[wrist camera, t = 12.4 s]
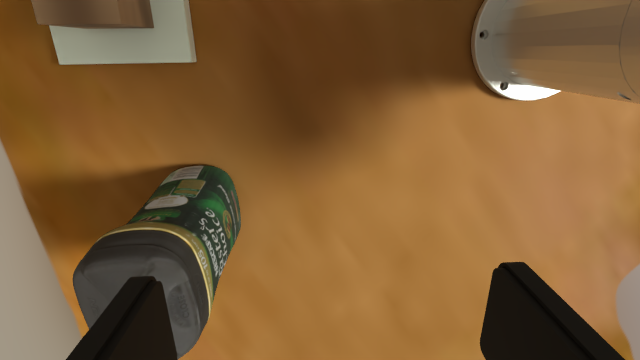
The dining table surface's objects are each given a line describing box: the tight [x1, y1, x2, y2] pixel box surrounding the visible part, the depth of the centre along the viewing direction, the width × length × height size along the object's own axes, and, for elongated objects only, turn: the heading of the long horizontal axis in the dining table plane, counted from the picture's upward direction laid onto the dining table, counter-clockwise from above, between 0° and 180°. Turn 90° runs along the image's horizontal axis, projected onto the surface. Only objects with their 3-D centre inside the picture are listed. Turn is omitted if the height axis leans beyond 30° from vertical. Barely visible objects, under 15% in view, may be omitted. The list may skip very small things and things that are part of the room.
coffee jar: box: [73, 166, 241, 360], centre depth 30 cm, size 10×8×19 cm
